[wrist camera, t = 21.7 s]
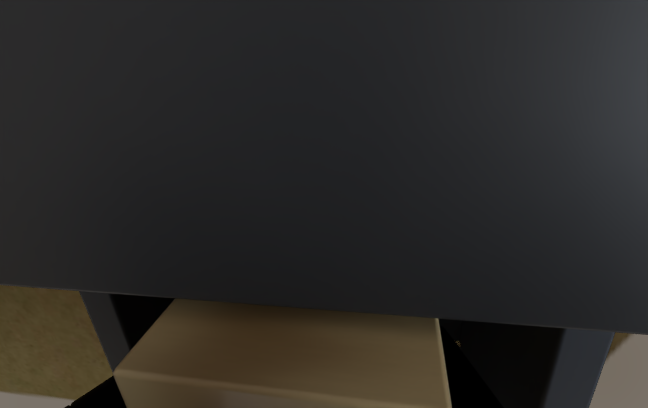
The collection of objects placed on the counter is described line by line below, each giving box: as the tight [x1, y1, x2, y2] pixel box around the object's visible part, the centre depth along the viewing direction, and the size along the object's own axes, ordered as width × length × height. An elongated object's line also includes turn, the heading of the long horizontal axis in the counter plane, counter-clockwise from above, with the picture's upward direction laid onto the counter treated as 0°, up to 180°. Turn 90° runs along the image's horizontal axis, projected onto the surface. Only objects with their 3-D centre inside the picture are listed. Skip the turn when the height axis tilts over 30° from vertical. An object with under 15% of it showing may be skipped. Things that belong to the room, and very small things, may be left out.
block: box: [113, 298, 452, 408], centre depth 7 cm, size 4×4×4 cm
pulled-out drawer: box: [79, 291, 615, 408], centre depth 12 cm, size 18×11×8 cm, turn 4°
